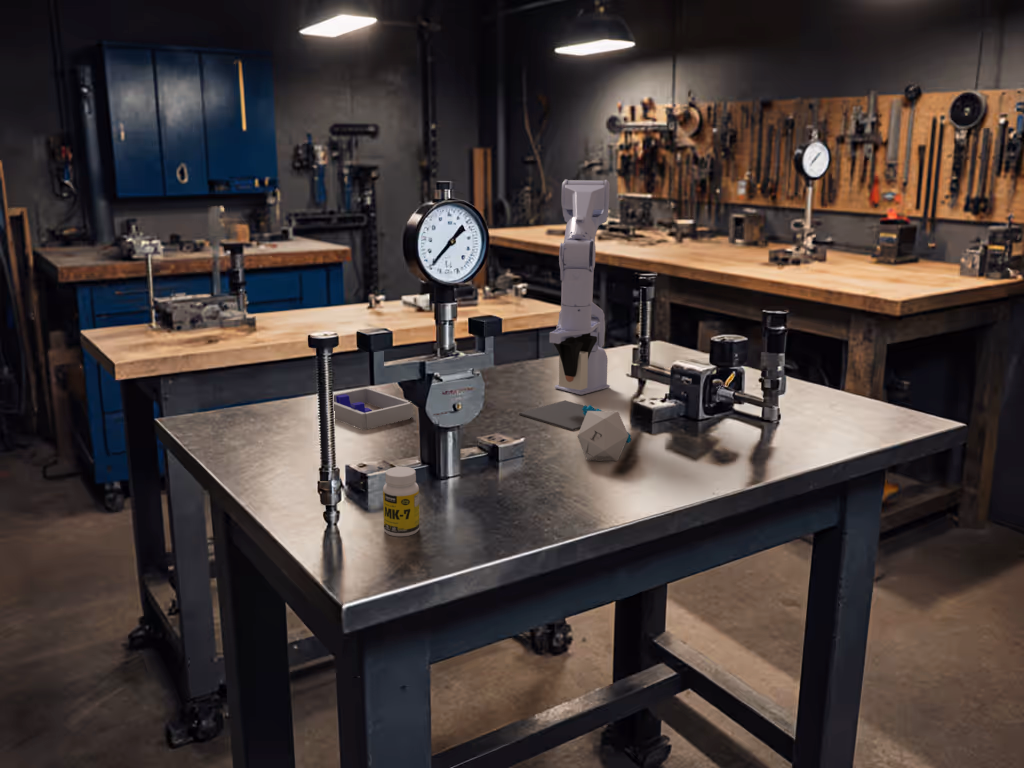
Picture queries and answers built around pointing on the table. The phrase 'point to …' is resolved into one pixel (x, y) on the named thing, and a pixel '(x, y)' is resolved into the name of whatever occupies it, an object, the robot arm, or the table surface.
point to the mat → (559, 414)
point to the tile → (581, 374)
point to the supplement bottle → (401, 502)
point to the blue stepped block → (346, 402)
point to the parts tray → (390, 413)
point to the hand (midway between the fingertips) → (574, 374)
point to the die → (602, 435)
